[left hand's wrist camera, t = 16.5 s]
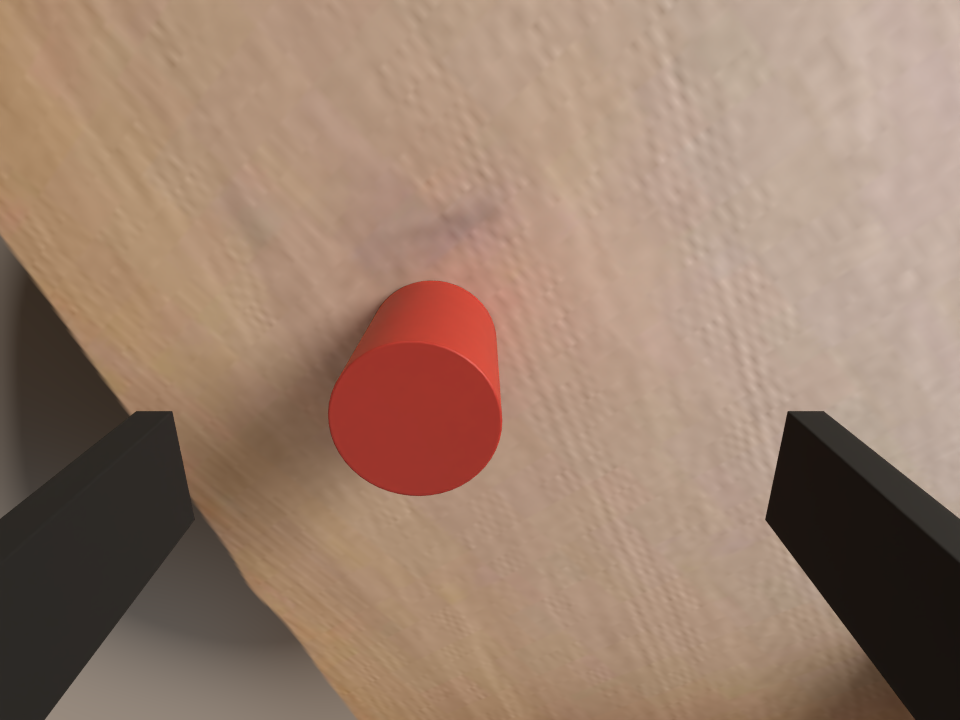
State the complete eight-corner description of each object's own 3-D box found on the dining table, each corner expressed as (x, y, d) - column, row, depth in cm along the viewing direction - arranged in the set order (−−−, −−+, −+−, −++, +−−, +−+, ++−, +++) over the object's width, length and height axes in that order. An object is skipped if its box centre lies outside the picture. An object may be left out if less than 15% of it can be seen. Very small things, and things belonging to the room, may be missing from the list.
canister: (437, 421, 32) (422, 525, 24) (344, 343, 30) (292, 425, 22) (522, 340, 30) (538, 420, 22) (428, 253, 29) (406, 303, 20)
